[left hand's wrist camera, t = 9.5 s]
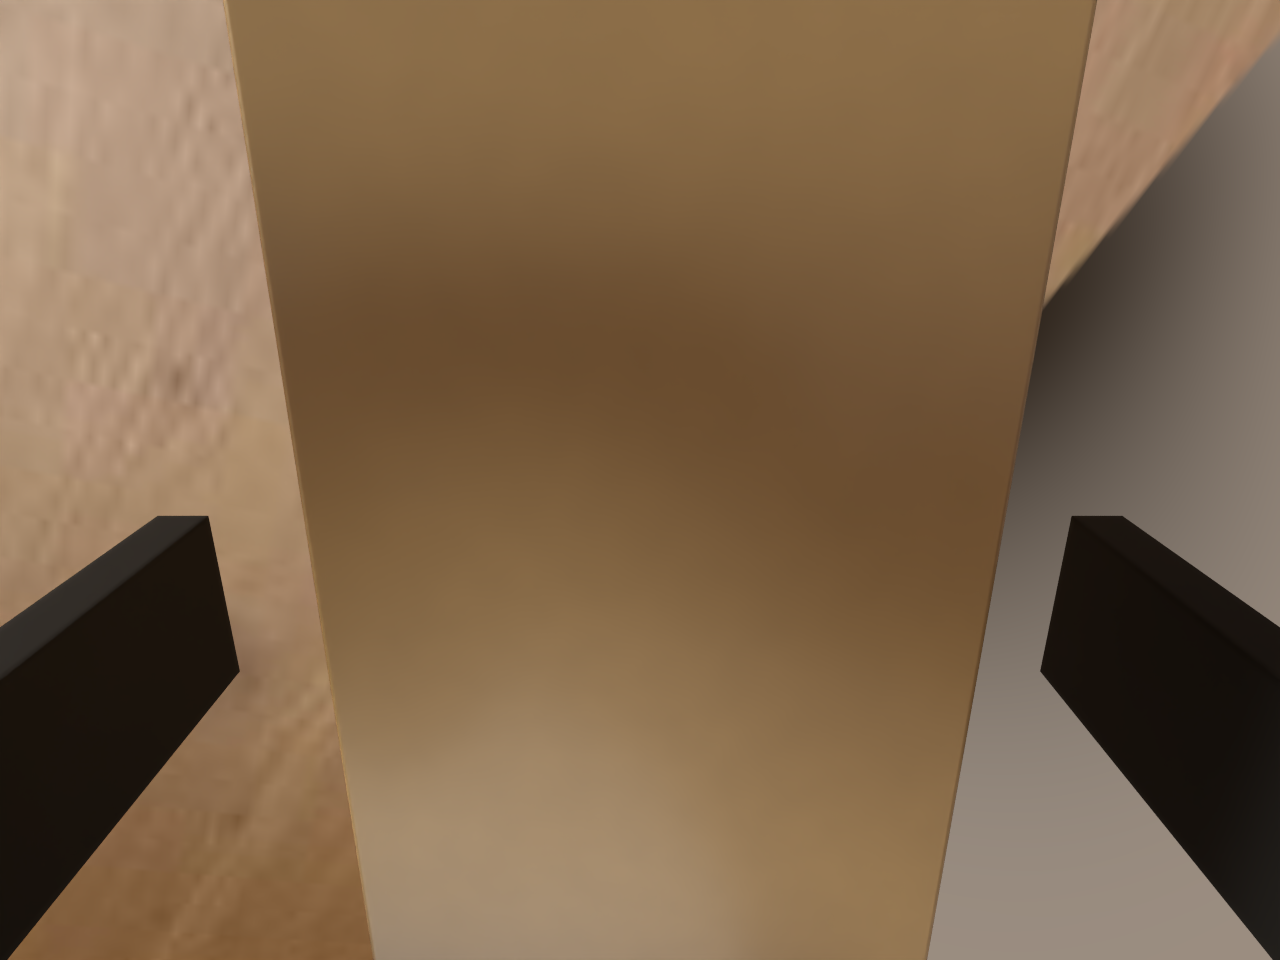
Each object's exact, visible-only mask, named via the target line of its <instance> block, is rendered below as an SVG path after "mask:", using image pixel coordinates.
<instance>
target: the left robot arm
mask: <svg viewBox="0 0 1280 960" xmlns="http://www.w3.org/2000/svg"><path fill="white" fill-rule="evenodd" d="M1040 671H1041V673H1042V674H1043V675H1044V676H1045V678H1046V679H1047V680H1048V681H1049V683H1050V684H1051V685H1052V686H1053V688H1054V689H1055V690H1056V691H1057V693H1058V694H1059V695H1060V696H1061V698H1062V699H1063V700H1064V701H1065V703H1066V704H1067V705H1068V706H1069V708H1070V709H1071V710H1072V711H1073V712H1074V714H1075V715H1076V716H1077V717H1078V719H1079V720H1080V721H1081V722H1082V724H1083V725H1084V726H1085V727H1086V729H1087V730H1088V731H1089V732H1090V734H1091V735H1092V736H1093V737H1094V739H1095V740H1096V741H1097V742H1098V743H1099V745H1100V746H1101V747H1102V748H1103V750H1104V751H1105V752H1106V753H1107V755H1108V756H1109V757H1110V758H1111V760H1112V761H1113V762H1114V763H1115V765H1116V766H1117V767H1118V768H1119V770H1120V771H1121V772H1122V773H1123V774H1124V776H1125V777H1126V778H1127V779H1128V781H1129V782H1130V783H1131V784H1132V786H1133V787H1134V788H1135V789H1136V791H1137V792H1138V793H1139V794H1140V796H1141V797H1142V798H1143V799H1144V801H1145V802H1146V803H1147V804H1148V805H1149V807H1150V808H1151V809H1152V810H1153V812H1154V813H1155V814H1156V815H1157V817H1158V818H1159V819H1160V820H1161V822H1162V823H1163V824H1164V825H1165V827H1166V828H1167V829H1168V830H1169V832H1170V833H1171V834H1172V835H1173V837H1174V838H1175V839H1176V840H1177V841H1178V843H1179V844H1180V845H1181V846H1182V848H1183V849H1184V850H1185V851H1186V853H1187V854H1188V855H1189V856H1190V858H1191V859H1192V860H1193V861H1194V863H1195V864H1196V865H1197V866H1198V868H1199V869H1200V870H1201V871H1202V872H1203V874H1204V875H1205V876H1206V877H1207V879H1208V880H1209V881H1210V882H1211V884H1212V885H1213V886H1214V887H1215V889H1216V890H1217V891H1218V892H1219V894H1220V895H1221V896H1222V897H1223V899H1224V900H1225V901H1226V902H1227V903H1228V905H1229V906H1230V907H1231V908H1232V910H1233V911H1234V912H1235V913H1236V915H1237V916H1238V917H1239V918H1240V920H1241V921H1242V922H1243V923H1244V925H1245V926H1246V927H1247V928H1248V929H1249V931H1250V932H1251V933H1252V934H1253V936H1254V937H1255V938H1256V939H1257V941H1258V942H1259V943H1260V944H1261V946H1262V947H1263V948H1264V949H1265V951H1266V952H1267V953H1268V954H1269V956H1270V957H1271V958H1272V959H1273V960H1280V627H1278V626H1277V625H1276V624H1274V623H1273V622H1271V621H1270V620H1269V619H1267V618H1266V617H1264V616H1263V615H1262V614H1260V613H1259V612H1257V611H1256V610H1254V609H1253V608H1252V607H1250V606H1249V605H1247V604H1246V603H1245V602H1243V601H1242V600H1240V599H1239V598H1238V597H1236V596H1235V595H1233V594H1232V593H1230V592H1229V591H1228V590H1226V589H1225V588H1223V587H1222V586H1221V585H1219V584H1218V583H1216V582H1215V581H1213V580H1212V579H1211V578H1209V577H1208V576H1206V575H1205V574H1203V573H1202V572H1201V571H1199V570H1198V569H1197V568H1195V567H1194V566H1192V565H1191V564H1189V563H1188V562H1187V561H1185V560H1184V559H1182V558H1181V557H1180V556H1178V555H1177V554H1175V553H1174V552H1172V551H1171V550H1170V549H1168V548H1167V547H1165V546H1164V545H1163V544H1161V543H1160V542H1158V541H1157V540H1156V539H1154V538H1153V537H1151V536H1150V535H1148V534H1147V533H1146V532H1144V531H1143V530H1141V529H1140V528H1139V527H1137V526H1136V525H1134V524H1133V523H1132V522H1130V521H1129V520H1127V519H1126V518H1124V517H1123V516H1072V517H1071V522H1070V527H1069V532H1068V537H1067V542H1066V547H1065V552H1064V557H1063V562H1062V567H1061V572H1060V576H1059V581H1058V586H1057V591H1056V596H1055V601H1054V606H1053V611H1052V616H1051V621H1050V626H1049V631H1048V636H1047V641H1046V645H1045V651H1044V656H1043V660H1042V665H1041V670H1040ZM239 672H240V670H239V665H238V660H237V655H236V650H235V646H234V641H233V636H232V631H231V626H230V621H229V616H228V611H227V606H226V601H225V596H224V591H223V586H222V581H221V576H220V571H219V567H218V562H217V557H216V552H215V547H214V542H213V537H212V532H211V527H210V522H209V517H208V516H157V517H156V518H154V519H153V520H151V521H150V522H148V523H147V524H146V525H144V526H143V527H141V528H140V529H139V530H137V531H136V532H134V533H133V534H132V535H130V536H129V537H127V538H126V539H124V540H123V541H122V542H120V543H119V544H117V545H116V546H115V547H113V548H112V549H110V550H109V551H107V552H106V553H105V554H103V555H102V556H100V557H99V558H98V559H96V560H95V561H93V562H92V563H91V564H89V565H88V566H86V567H85V568H83V569H82V570H81V571H79V572H78V573H76V574H75V575H74V576H72V577H71V578H69V579H68V580H66V581H65V582H64V583H62V584H61V585H59V586H58V587H57V588H55V589H54V590H52V591H51V592H50V593H48V594H47V595H45V596H44V597H42V598H41V599H40V600H38V601H37V602H35V603H34V604H33V605H31V606H30V607H28V608H27V609H25V610H24V611H23V612H21V613H20V614H18V615H17V616H16V617H14V618H13V619H11V620H10V621H9V622H7V623H6V624H4V625H3V626H1V627H0V960H7V959H8V958H9V957H10V956H11V954H12V953H13V952H14V951H15V949H16V948H17V947H18V946H19V944H20V943H21V942H22V941H23V939H24V938H25V937H26V936H27V934H28V933H29V932H30V931H31V930H32V928H33V927H34V926H35V925H36V923H37V922H38V921H39V920H40V918H41V917H42V916H43V915H44V913H45V912H46V911H47V910H48V908H49V907H50V906H51V905H52V903H53V902H54V901H55V900H56V899H57V897H58V896H59V895H60V894H61V892H62V891H63V890H64V889H65V887H66V886H67V885H68V884H69V882H70V881H71V880H72V879H73V877H74V876H75V875H76V874H77V872H78V871H79V870H80V869H81V868H82V866H83V865H84V864H85V863H86V861H87V860H88V859H89V858H90V856H91V855H92V854H93V853H94V851H95V850H96V849H97V848H98V846H99V845H100V844H101V843H102V841H103V840H104V839H105V838H106V836H107V835H108V834H109V833H110V832H111V830H112V829H113V828H114V827H115V825H116V824H117V823H118V822H119V820H120V819H121V818H122V817H123V815H124V814H125V813H126V812H127V810H128V809H129V808H130V807H131V805H132V804H133V803H134V802H135V801H136V799H137V798H138V797H139V796H140V794H141V793H142V792H143V791H144V789H145V788H146V787H147V786H148V784H149V783H150V782H151V781H152V779H153V778H154V777H155V776H156V774H157V773H158V772H159V771H160V770H161V768H162V767H163V766H164V765H165V763H166V762H167V761H168V760H169V758H170V757H171V756H172V755H173V753H174V752H175V751H176V750H177V748H178V747H179V746H180V745H181V743H182V742H183V741H184V740H185V739H186V737H187V736H188V735H189V734H190V732H191V731H192V730H193V729H194V727H195V726H196V725H197V724H198V722H199V721H200V720H201V719H202V717H203V716H204V715H205V714H206V712H207V711H208V710H209V709H210V708H211V706H212V705H213V704H214V703H215V701H216V700H217V699H218V698H219V696H220V695H221V694H222V693H223V691H224V690H225V689H226V688H227V686H228V685H229V684H230V683H231V681H232V680H233V679H234V678H235V677H236V675H237V674H238V673H239Z"/></svg>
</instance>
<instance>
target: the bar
mask: <svg viewBox="0 0 1280 960" xmlns="http://www.w3.org/2000/svg"><path fill="white" fill-rule="evenodd" d="M1096 3H1097V0H223V4H224V10H225V16H226V23H227V29H228V36H229V42H230V48H231V55H232V61H233V68H234V74H235V80H236V87H237V93H238V100H239V106H240V112H241V119H242V125H243V131H244V138H245V144H246V151H247V157H248V163H249V170H250V176H251V183H252V189H253V195H254V202H255V208H256V214H257V221H258V227H259V234H260V240H261V246H262V253H263V259H264V266H265V272H266V278H267V285H268V291H269V297H270V304H271V310H272V317H273V323H274V329H275V336H276V342H277V349H278V355H279V361H280V368H281V374H282V381H283V387H284V393H285V400H286V406H287V412H288V419H289V425H290V432H291V438H292V444H293V451H294V457H295V464H296V470H297V476H298V483H299V489H300V495H301V502H302V508H303V515H304V521H305V527H306V534H307V540H308V547H309V553H310V559H311V566H312V572H313V579H314V585H315V591H316V598H317V604H318V610H319V617H320V623H321V630H322V636H323V642H324V649H325V655H326V662H327V668H328V674H329V681H330V687H331V693H332V700H333V706H334V713H335V719H336V725H337V732H338V738H339V745H340V751H341V757H342V764H343V770H344V776H345V783H346V789H347V796H348V802H349V808H350V815H351V821H352V828H353V834H354V840H355V847H356V853H357V860H358V866H359V872H360V879H361V885H362V891H363V898H364V904H365V911H366V917H367V923H368V930H369V936H370V943H371V949H372V955H373V960H927V956H928V951H929V945H930V940H931V934H932V928H933V923H934V917H935V911H936V906H937V900H938V894H939V888H940V883H941V878H942V872H943V866H944V861H945V855H946V849H947V844H948V838H949V833H950V827H951V821H952V815H953V810H954V804H955V798H956V793H957V787H958V782H959V776H960V770H961V765H962V759H963V753H964V748H965V742H966V737H967V731H968V725H969V720H970V714H971V708H972V703H973V697H974V692H975V686H976V680H977V675H978V669H979V663H980V658H981V652H982V646H983V641H984V635H985V629H986V624H987V618H988V612H989V607H990V601H991V596H992V590H993V584H994V579H995V573H996V567H997V562H998V556H999V550H1000V545H1001V539H1002V534H1003V528H1004V522H1005V517H1006V511H1007V505H1008V500H1009V494H1010V489H1011V483H1012V477H1013V472H1014V466H1015V460H1016V455H1017V449H1018V443H1019V438H1020V432H1021V426H1022V421H1023V415H1024V409H1025V404H1026V398H1027V393H1028V387H1029V381H1030V376H1031V370H1032V364H1033V359H1034V353H1035V347H1036V342H1037V336H1038V331H1039V325H1040V319H1041V314H1042V308H1043V302H1044V297H1045V291H1046V285H1047V280H1048V274H1049V269H1050V263H1051V257H1052V252H1053V246H1054V240H1055V235H1056V229H1057V223H1058V218H1059V212H1060V207H1061V201H1062V195H1063V190H1064V184H1065V178H1066V173H1067V167H1068V161H1069V156H1070V150H1071V144H1072V139H1073V133H1074V128H1075V122H1076V116H1077V111H1078V105H1079V99H1080V94H1081V88H1082V82H1083V77H1084V71H1085V66H1086V60H1087V54H1088V49H1089V43H1090V37H1091V32H1092V26H1093V20H1094V15H1095V9H1096Z"/></svg>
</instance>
